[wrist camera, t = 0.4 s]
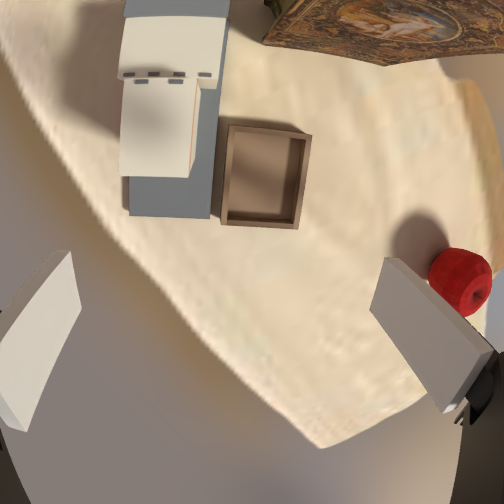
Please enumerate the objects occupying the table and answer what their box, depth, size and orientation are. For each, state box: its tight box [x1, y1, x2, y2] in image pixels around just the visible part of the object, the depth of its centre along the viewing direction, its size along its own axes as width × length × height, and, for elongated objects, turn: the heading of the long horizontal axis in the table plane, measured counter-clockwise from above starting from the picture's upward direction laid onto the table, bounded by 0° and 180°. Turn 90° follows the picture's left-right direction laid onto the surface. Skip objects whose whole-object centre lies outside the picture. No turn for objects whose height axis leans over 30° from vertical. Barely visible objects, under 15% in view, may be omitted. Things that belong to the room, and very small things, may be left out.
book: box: [262, 0, 504, 66], centre depth 16 cm, size 16×6×25 cm, turn 88°
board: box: [129, 20, 230, 219], centre depth 29 cm, size 22×9×1 cm, turn 174°
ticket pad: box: [117, 0, 230, 89], centre depth 22 cm, size 7×8×9 cm
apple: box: [428, 248, 492, 317], centre depth 38 cm, size 10×10×11 cm
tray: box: [220, 125, 312, 229], centre depth 33 cm, size 11×9×2 cm
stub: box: [119, 78, 201, 178], centre depth 24 cm, size 7×5×11 cm
